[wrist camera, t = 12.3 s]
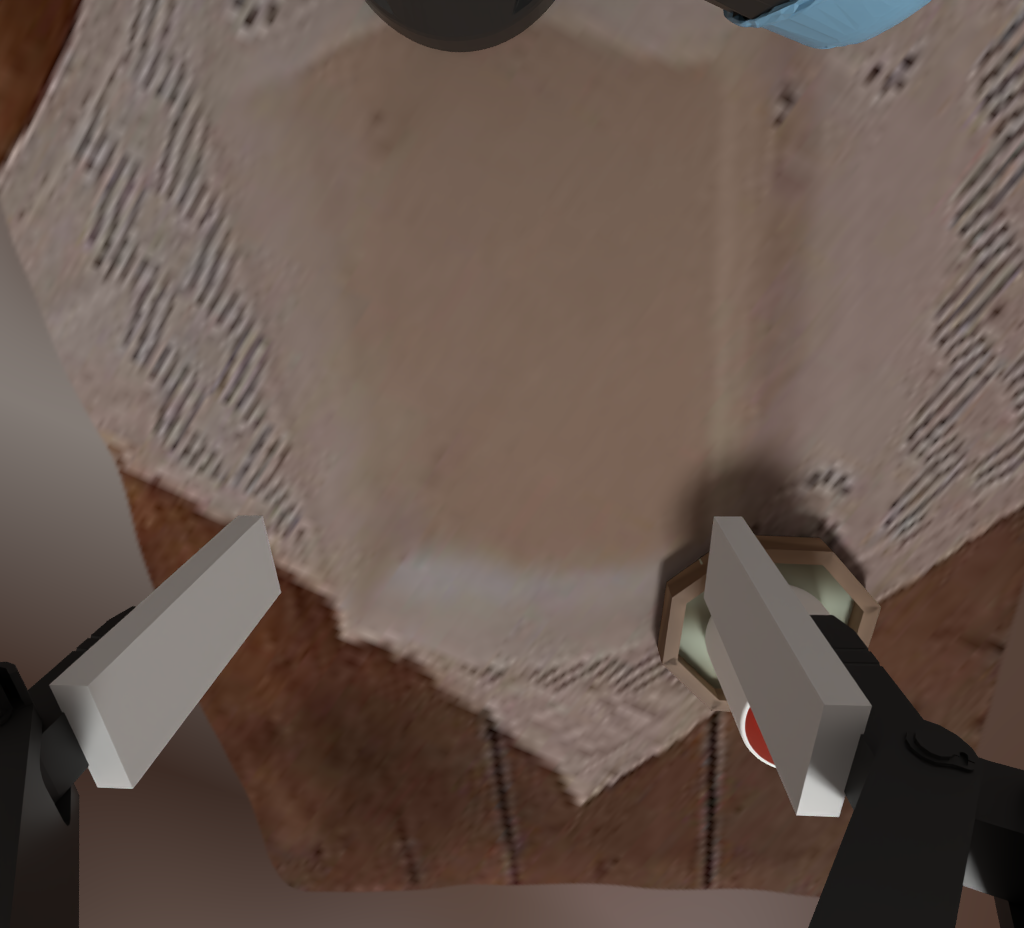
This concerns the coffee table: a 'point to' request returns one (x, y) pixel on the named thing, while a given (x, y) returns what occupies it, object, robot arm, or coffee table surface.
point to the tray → (801, 567)
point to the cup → (734, 688)
